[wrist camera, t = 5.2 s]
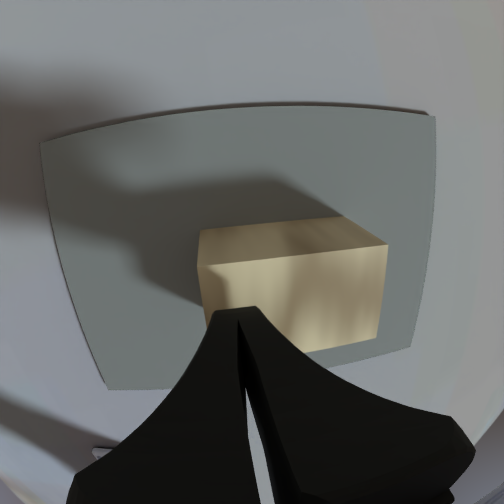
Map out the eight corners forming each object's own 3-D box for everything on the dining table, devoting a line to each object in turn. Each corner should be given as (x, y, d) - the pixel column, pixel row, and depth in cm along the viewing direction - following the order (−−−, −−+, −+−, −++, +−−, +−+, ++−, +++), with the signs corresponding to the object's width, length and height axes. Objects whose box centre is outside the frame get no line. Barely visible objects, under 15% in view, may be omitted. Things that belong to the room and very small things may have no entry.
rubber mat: (407, 343, 18) (410, 346, 18) (109, 385, 16) (108, 390, 16) (430, 116, 13) (435, 116, 13) (43, 142, 11) (39, 143, 11)
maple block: (210, 310, 15) (340, 293, 15) (213, 365, 11) (375, 337, 12) (200, 230, 13) (344, 216, 14) (197, 266, 9) (388, 244, 10)
